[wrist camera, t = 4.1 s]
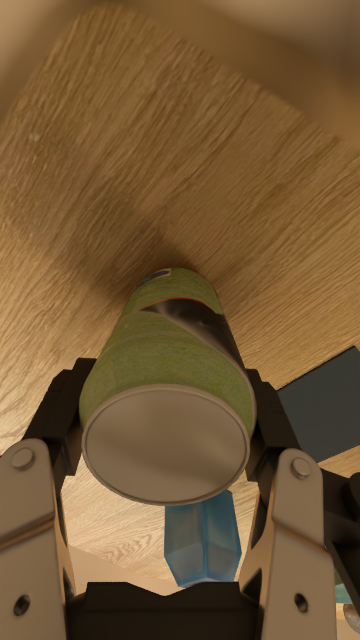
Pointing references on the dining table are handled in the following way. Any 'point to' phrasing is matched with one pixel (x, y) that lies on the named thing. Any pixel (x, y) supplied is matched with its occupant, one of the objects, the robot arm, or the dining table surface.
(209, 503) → the perfume bottle
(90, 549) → the dining table surface
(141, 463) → the beverage can
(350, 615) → the seashell
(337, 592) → the saucer
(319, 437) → the mat
